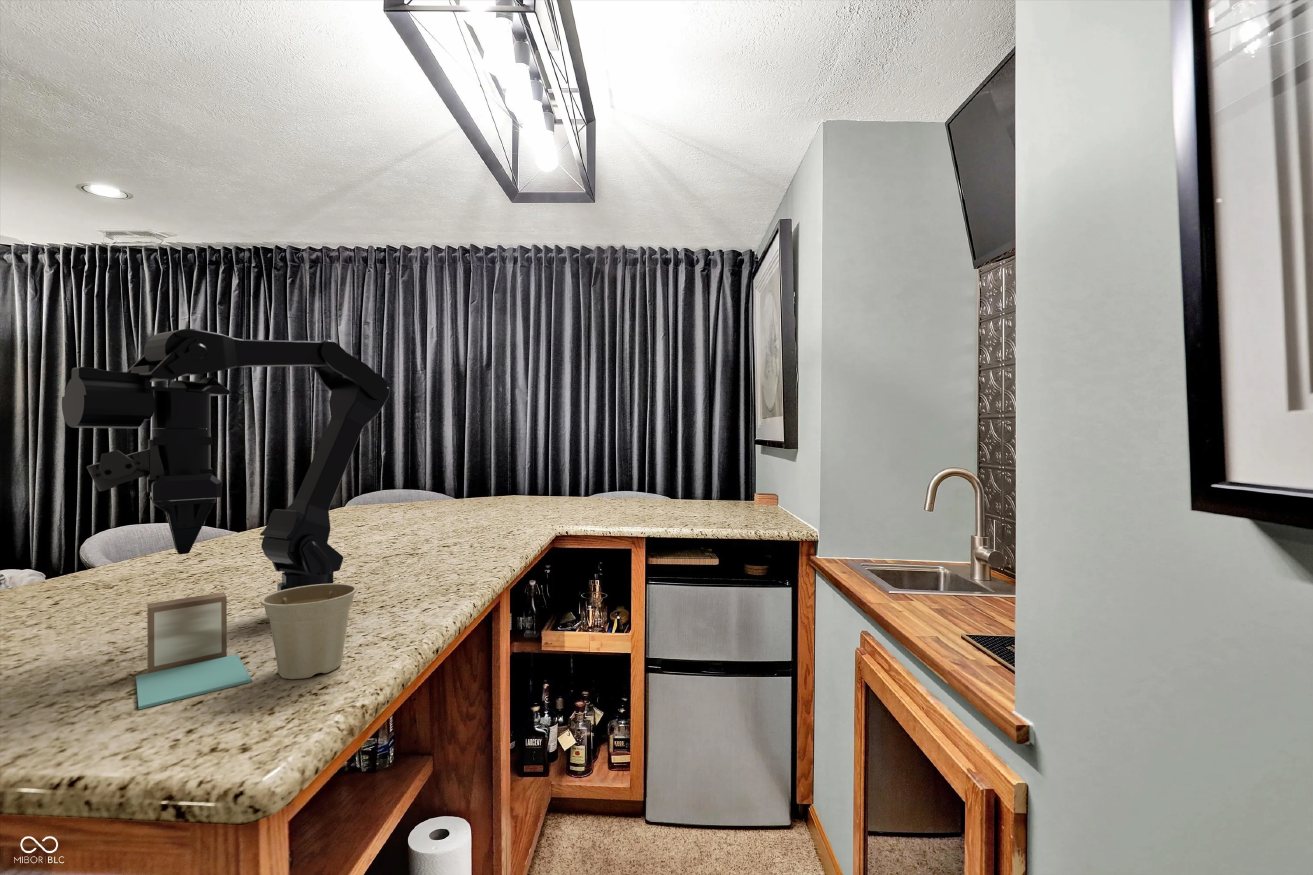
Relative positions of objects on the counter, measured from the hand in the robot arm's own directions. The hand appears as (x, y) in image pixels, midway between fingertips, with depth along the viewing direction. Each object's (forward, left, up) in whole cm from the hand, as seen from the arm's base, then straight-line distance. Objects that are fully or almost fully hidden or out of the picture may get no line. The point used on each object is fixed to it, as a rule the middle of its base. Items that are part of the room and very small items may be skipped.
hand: (182, 551), depth 72 cm
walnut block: (0, +8, -12) cm, 14 cm away
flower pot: (-10, +20, -12) cm, 25 cm away
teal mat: (0, +14, -12) cm, 19 cm away
